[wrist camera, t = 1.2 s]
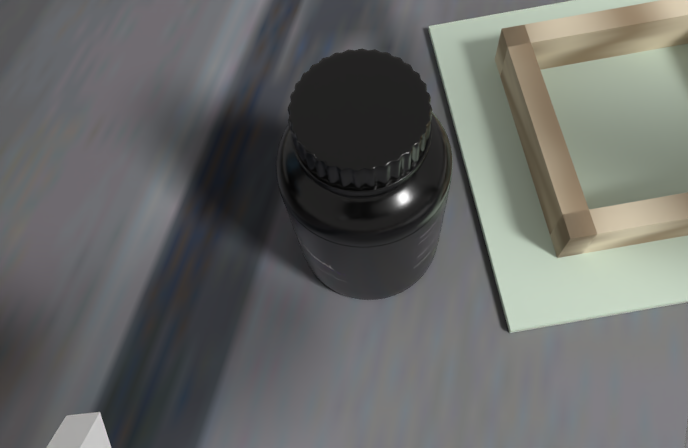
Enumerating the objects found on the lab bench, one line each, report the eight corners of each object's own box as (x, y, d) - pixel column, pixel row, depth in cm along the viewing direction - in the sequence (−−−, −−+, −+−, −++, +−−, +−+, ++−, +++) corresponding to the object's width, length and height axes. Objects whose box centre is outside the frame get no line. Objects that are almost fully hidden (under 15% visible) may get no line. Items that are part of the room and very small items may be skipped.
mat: (509, 333, 29) (510, 331, 29) (428, 30, 36) (429, 26, 36) (894, 266, 29) (900, 263, 28) (736, -25, 36) (739, -30, 36)
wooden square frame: (557, 258, 30) (570, 238, 28) (494, 59, 35) (501, 28, 32) (804, 214, 30) (838, 191, 27) (707, 21, 34) (729, -12, 32)
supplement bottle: (285, 284, 31) (222, 170, 20) (326, 166, 33) (291, 5, 22) (420, 321, 30) (434, 220, 19) (453, 195, 32) (482, 40, 21)
